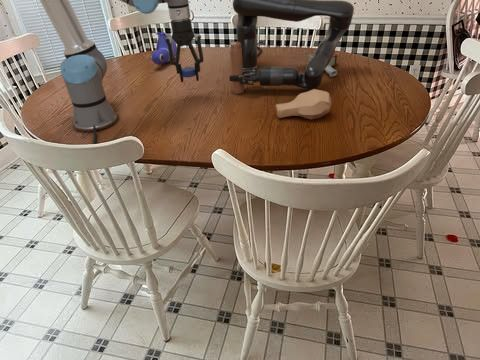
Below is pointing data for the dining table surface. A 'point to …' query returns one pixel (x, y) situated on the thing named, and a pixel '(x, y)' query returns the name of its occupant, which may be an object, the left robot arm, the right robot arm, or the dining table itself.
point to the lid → (188, 71)
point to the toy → (162, 50)
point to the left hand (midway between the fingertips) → (190, 80)
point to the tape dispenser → (329, 65)
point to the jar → (236, 66)
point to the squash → (306, 105)
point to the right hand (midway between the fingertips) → (231, 76)
